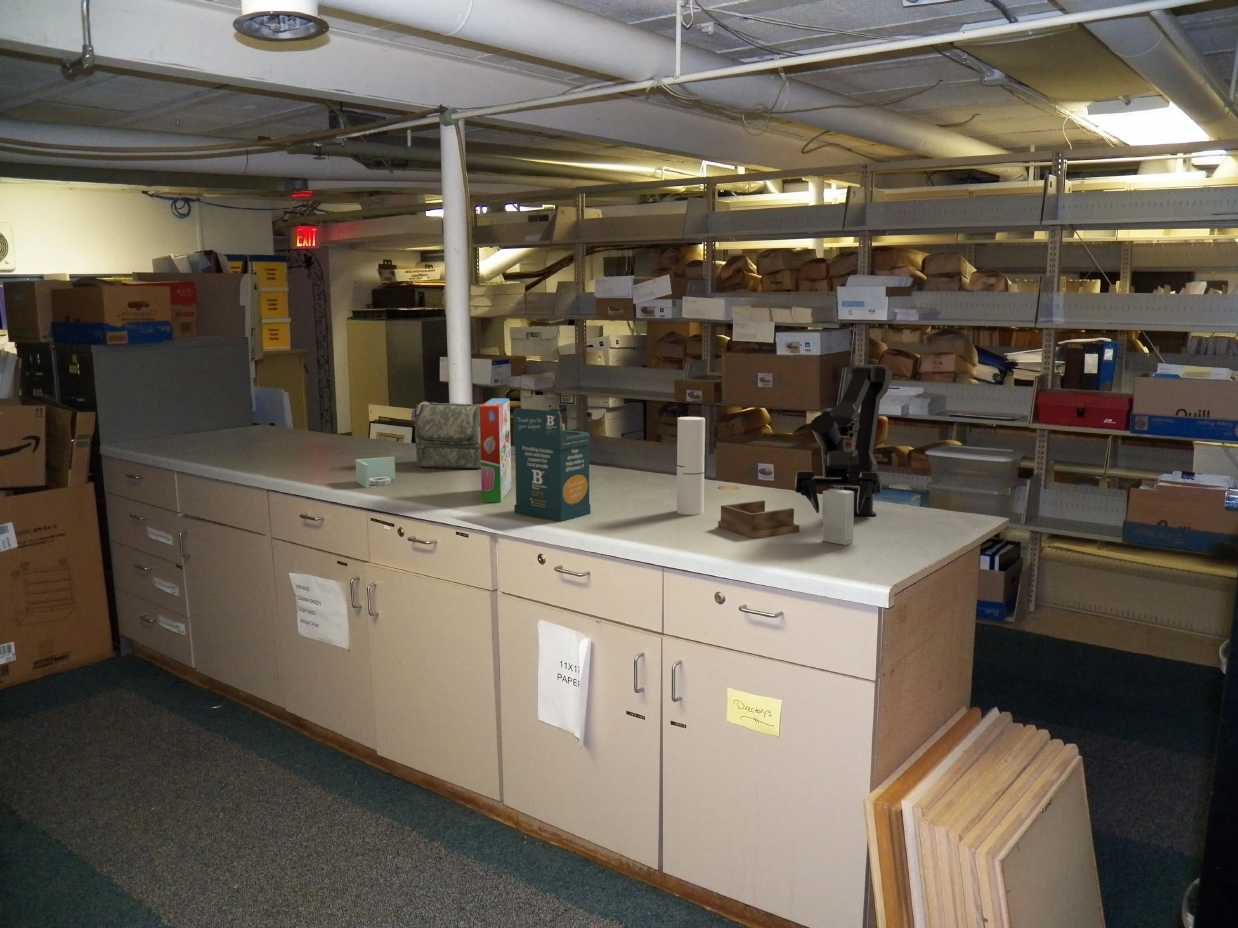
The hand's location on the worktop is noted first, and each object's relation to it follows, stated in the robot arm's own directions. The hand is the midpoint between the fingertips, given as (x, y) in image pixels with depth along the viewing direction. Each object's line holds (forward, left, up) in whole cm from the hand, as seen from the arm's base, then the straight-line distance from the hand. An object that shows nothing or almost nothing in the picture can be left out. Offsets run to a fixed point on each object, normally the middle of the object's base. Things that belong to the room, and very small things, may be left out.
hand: (838, 512), depth 216 cm
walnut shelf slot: (-13, -17, -7) cm, 22 cm away
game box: (-52, -88, -7) cm, 102 cm away
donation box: (-30, -68, -7) cm, 75 cm away
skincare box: (-1, 0, -7) cm, 7 cm away
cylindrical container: (-32, -33, -7) cm, 46 cm away
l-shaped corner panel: (-70, -127, -8) cm, 145 cm away
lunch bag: (-104, -112, -7) cm, 153 cm away
